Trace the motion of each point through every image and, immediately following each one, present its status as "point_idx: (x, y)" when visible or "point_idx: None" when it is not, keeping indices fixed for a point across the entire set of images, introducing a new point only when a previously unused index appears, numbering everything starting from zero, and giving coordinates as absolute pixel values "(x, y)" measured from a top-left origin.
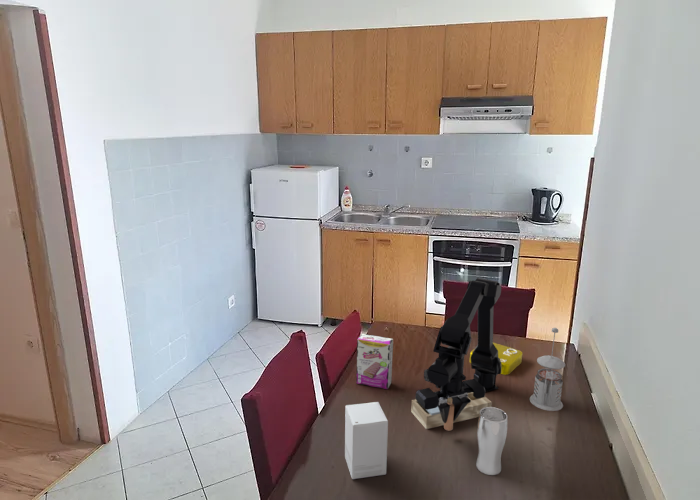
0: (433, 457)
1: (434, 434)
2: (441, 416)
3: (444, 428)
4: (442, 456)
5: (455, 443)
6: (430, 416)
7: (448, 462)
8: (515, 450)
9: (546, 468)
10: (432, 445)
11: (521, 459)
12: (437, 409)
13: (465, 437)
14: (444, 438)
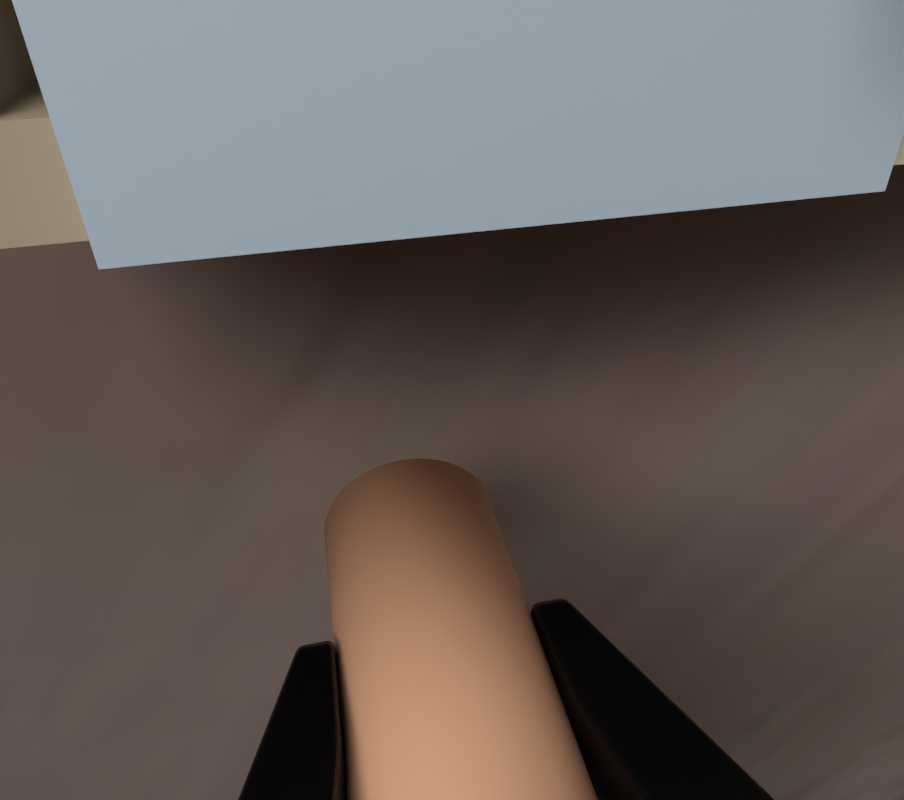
0: (16, 709)
1: (184, 322)
2: (254, 771)
3: (326, 537)
4: (144, 699)
5: None
6: (85, 230)
7: (182, 760)
8: (887, 659)
9: (880, 788)
10: (62, 542)
11: (826, 732)
12: (430, 78)
13: (616, 460)
14: (316, 437)
